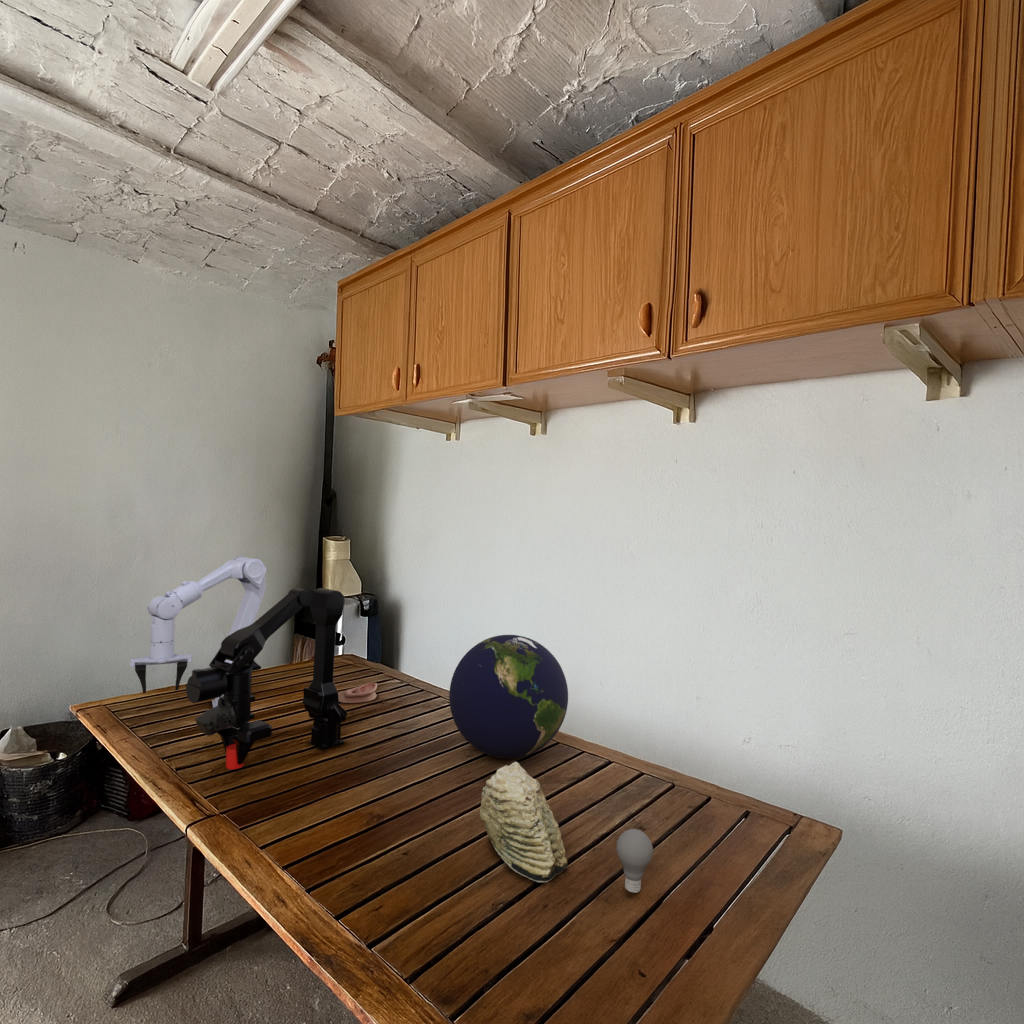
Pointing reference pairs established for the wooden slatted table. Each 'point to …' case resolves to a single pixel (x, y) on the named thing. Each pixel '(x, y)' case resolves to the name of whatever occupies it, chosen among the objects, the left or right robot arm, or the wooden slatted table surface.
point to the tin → (232, 758)
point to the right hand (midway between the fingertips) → (235, 761)
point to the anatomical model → (358, 694)
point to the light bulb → (634, 857)
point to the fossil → (522, 824)
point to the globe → (508, 696)
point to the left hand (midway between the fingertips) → (160, 690)
